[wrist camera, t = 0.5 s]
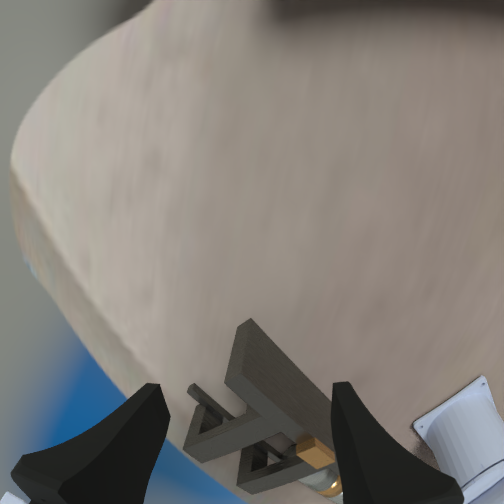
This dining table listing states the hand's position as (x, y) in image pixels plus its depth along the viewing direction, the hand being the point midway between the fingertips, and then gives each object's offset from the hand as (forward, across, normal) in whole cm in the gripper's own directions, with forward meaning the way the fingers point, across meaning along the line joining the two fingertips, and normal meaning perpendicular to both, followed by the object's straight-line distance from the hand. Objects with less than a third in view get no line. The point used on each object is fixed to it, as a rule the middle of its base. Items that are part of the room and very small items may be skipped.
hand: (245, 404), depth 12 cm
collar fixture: (+10, -3, +14) cm, 18 cm away
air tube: (+10, -5, +20) cm, 23 cm away
